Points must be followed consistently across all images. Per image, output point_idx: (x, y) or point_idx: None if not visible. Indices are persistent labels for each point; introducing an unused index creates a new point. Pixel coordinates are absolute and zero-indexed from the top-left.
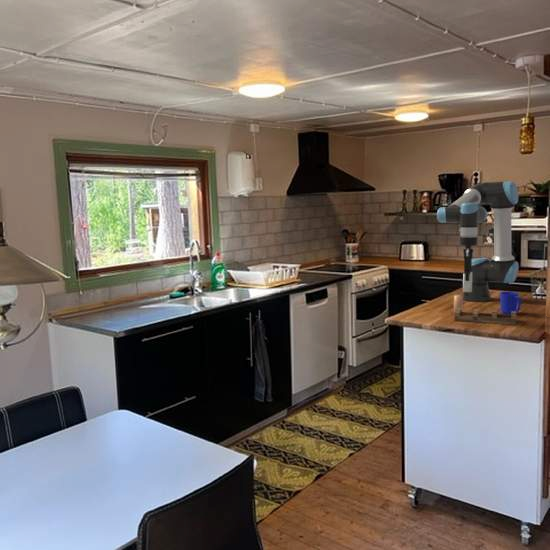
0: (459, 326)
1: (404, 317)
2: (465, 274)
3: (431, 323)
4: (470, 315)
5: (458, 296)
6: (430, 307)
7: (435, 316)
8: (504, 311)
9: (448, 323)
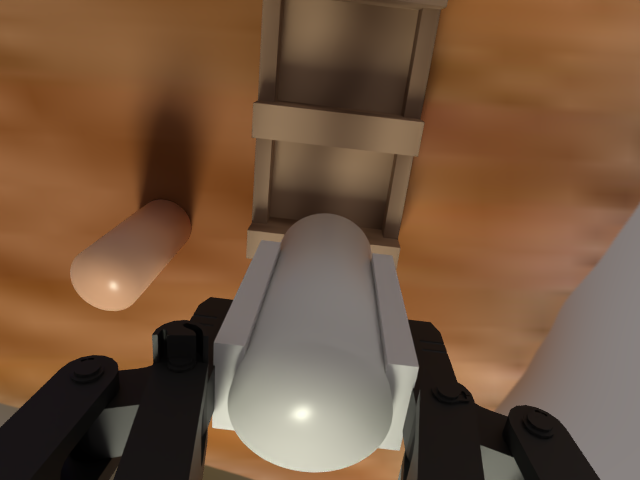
0: (543, 229)
1: (337, 470)
2: (401, 425)
3: (470, 363)
4: (274, 157)
5: (138, 280)
6: (27, 364)
7: None
8: None
9: (462, 284)
